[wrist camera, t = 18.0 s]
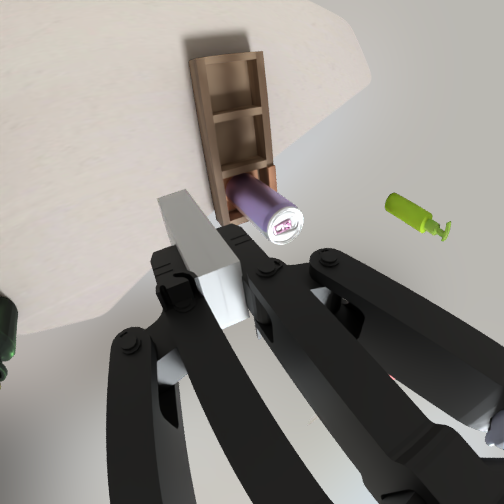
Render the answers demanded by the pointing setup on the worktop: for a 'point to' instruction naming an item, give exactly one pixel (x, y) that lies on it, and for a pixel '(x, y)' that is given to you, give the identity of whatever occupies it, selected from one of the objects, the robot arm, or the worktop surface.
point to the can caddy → (233, 124)
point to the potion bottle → (7, 333)
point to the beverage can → (265, 208)
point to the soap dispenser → (414, 215)
